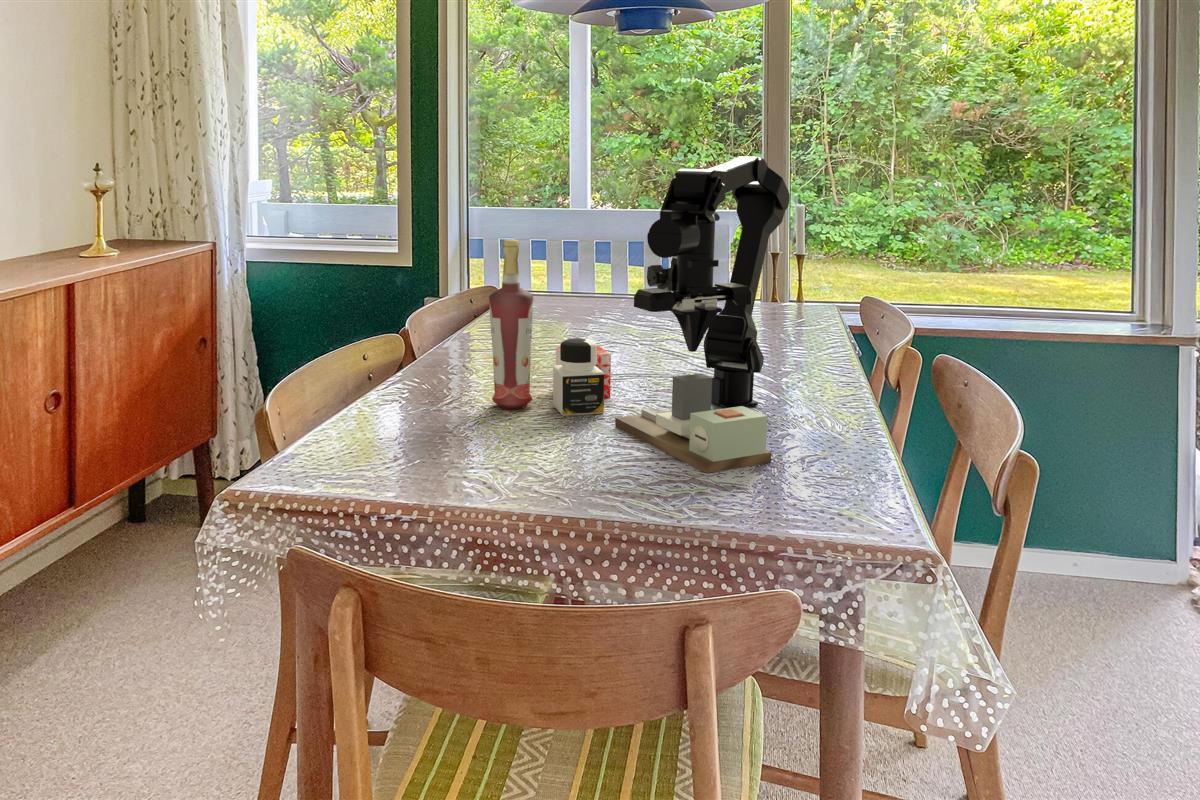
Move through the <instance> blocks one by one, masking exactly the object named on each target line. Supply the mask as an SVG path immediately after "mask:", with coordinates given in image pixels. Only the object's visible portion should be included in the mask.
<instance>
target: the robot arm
mask: <svg viewBox="0 0 1200 800" xmlns="http://www.w3.org/2000/svg"><path fill="white" fill-rule="evenodd" d="M729 192H731V196H732V197H733V199H734V200H735V202H736V214H737V217H738V219H739V223H740V225H741V231H740V236H739V240H738V244H737V249H736V253H735V259H734V262H733V268H732V270H731V271H732V272H731V276H730V280H729V282H728V283H727V282H726V283H715V284H714V267H715V268H716V267H719V259H716V258H715V236H716V234H715V233H716V222H718V221H720V219H721V217H720V215H719V213H718V212H716V211H717V209H718V207H719V205H720V204H722V203H723V202H724V201H725V200H726V194H727V193H729ZM790 199H791V198H790V192H789V189H788V186H787V184H786V182H785V181H784V178H783V177H782V175H781V176H780V174H779V173H777V172H775V171H774V170H773V169H771V168H770V167H769V165H768V164H767V162H766V160H765V158H762V157H760V156H742V155H741V156H737V157H734V158H733V159H732V160H730V161H726V162H724V163H721V164H718V165H715V166H712V167H709V168H706V169H705V168H679V169H678V170H677V171H676V172H675V173H674V176H673V177H672V179H671V181H670V183H669V187H668V189H667V192H666V194H665V197H664V199H663V203H662V205H661V208H660V210H659V219H657V220H656V221H654V222H653V223H652V224H651V226H650V228H649V230H648V232H647V237H646V239H647V244H648V246H649V247H648V248H649V249H650V250H651V252H652V253H653V254H654V255H655V256H657V257H659V258H661V259H666V258H671V261H670V266H669V267H667V268H663V265H662V264H653V265H649V266H647V271H646V281H647V285H648V286H649V287H650V288H638V289H637V291H636V292H635V294H634V296H633V307H634V308H637V309H641V310H644V311H646V312H652V313H658V312H659V313H661V312H671V313H673V316H675V318H676V319H677V323H679V324H678V325H679V326H680V329H681V331H682V334H683V335H682V336H683V338H684V341H685V344H686V347H687V350H688V352H690V353H691V352H692V353H695V352H697V350H698V348H699V346H700V344H701V343H702V341H703V351H704V358H705V360H704V361H705V366H706V368H708V369H713V376H712V397H711V404H715V405H717V406H719V407H722V408H723V409H724V408H732V407H739V406H744V407H746V408H747V407H751V406H758V405H759V401H757V400H754V382H755V381H754V380H755V379H754V378H755V373H756V374H757V373H761V372H762V369H763V365H764V360H765V359H764V358H765V356H764V355H763V352H762V350H761V348H760V346H759V343H758V341H757V338H758V330H757V328H756V325H755V321H754V319H753V311H754V307H755V302H756V297H757V292H758V287H759V284H760V279H761V274H762V270H763V266H764V262H765V256H766V252H767V247H768V243H769V238H770V236H771V235H772V233H774V231H775V230H777V228H778V227H779V226H780V225H781V224H782V222H783V220H784V216H785V213H786V210H787V209H788V207H789V205H790ZM719 301H720V302H723V301H725V302H724V306H723V307H722V308H721V307H718V302H719ZM704 336H705V337H704Z"/></svg>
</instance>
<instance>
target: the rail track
mask: <svg viewBox="0 0 1200 800" xmlns="http://www.w3.org/2000/svg"><path fill="white" fill-rule="evenodd" d="M665 412H672V409H671V410H665V411H660V410H657V409H656V408H653V407H650V408H641V413H640V414H635V415H634V414H632V415H627V416H619V417H615V420H614V424H615V425H614V427H615V428H617V429H618V430H620V431H622V432H623V433H626V434H628V435H631V436H632V437H634V438H636V439H638V440H640V441H642V442H643V443H646V444H648V445H650V446H651V447H654V448H656V449H658V450H660V451H662V452H664V453H666V454H668V455H670V456H671V457H674V458H676V459H678V460H680V461H682V462H684V463H686V464H688V465H690V466H692V467H693V468H696V469H698V470H699V471H701V472H704V473H705V474H709V473H714V472H715V473H716V472H721V471H722V472H723V471H728V470H734V469H740V468H746V467H752V466H757V465H762V464H763V465H764V464H768V463H772V451H770V450H767V449H766V453H764V454H758V455H751V456H745V457H739V458H733V459H727V460H721V461H714V462H712V461H710V460H708V459H706V458H704V457H702V456H700V455H698V454H696V453H694V452H692V451H690V450H689V442H690V439H689V438H686V437H684V436H681V435H678V434H676V433H674V432H672V431H670V430H668V429H666V428H663V427H661V426H659V425H657V424H656V414H658V413H665Z"/></svg>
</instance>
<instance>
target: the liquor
mask: <svg viewBox="0 0 1200 800" xmlns="http://www.w3.org/2000/svg"><path fill="white" fill-rule="evenodd" d="M501 243H502V254H503V270H502V271H503V272H502V281H501V282H502V283H501V287H500V288H499V289H495V290H494V291H493V292H492V293H491V294H490V295H489V296H488V301H489V302H488V303H489V304H488V305H489V317H490V318H489V321H490V335H491V348H492V361H493V362H492V363H493V387H494V394H493V396H492V398H491V400H492V402H493V403H495V404H496V405H497V406H498V407H499V408H500V409H502V410H512V411H513V410H520V409H521V410H522V409H524V408H525V407H527V406H528V405H529V404H530V403H531V402H532V401H533V397H532V395H531V393H530V392H531V357H532V356H531V355H532V353H531V351H532V336H533V311H534V310H533V308H534V295H533V294H532V293H530V291H528V290H527V289H524V288H521V282H520V281H521V280H520V273H519V262H518V257H519V251H520V248H519V246H520V245H519V244H520V243H519V240H518V239H504V240H502V241H501Z"/></svg>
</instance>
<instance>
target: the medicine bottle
mask: <svg viewBox="0 0 1200 800" xmlns="http://www.w3.org/2000/svg"><path fill="white" fill-rule="evenodd" d="M597 345H598V344H597V343H596V342H595V341H594V340H592V339H589V338H582V337H579V338H578V337H577V338H576V337H575V338H574V337H573V338H567V339H565V340H563V341H561V343H560V344H559V346H560V364H561V365H556V364H555V365H554V366H553V367H552V405H553V407H554V408H555V409H556V410H557V411H558V412H559V413H560V415H562V416H563V417H570V416H585V415H602V414H603V415H604V411H605V407H604V406H605V403H604V402H605V398H604V373H603V372H602V371H601V370H600V369H599V368H597V367H596V366H595V365H596V360H597Z"/></svg>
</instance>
